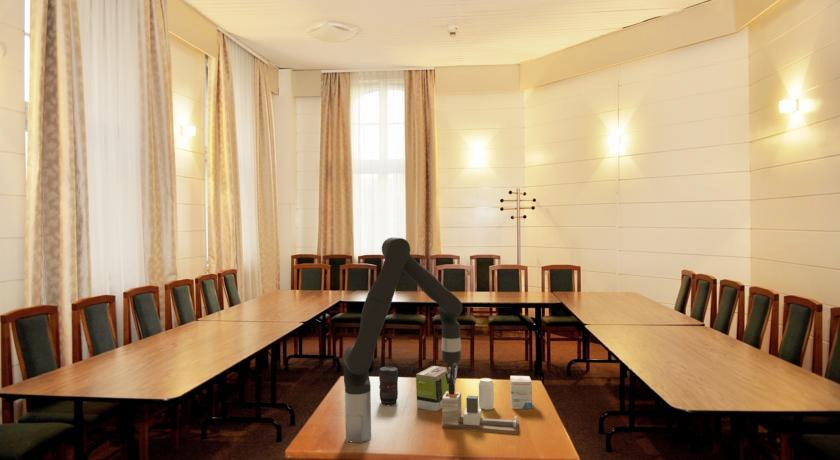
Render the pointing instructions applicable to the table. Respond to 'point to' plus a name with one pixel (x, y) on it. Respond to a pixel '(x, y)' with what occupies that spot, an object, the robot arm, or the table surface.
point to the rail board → (455, 421)
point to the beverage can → (486, 394)
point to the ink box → (521, 392)
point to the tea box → (431, 388)
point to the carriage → (472, 411)
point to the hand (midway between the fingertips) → (451, 393)
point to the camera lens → (388, 385)
